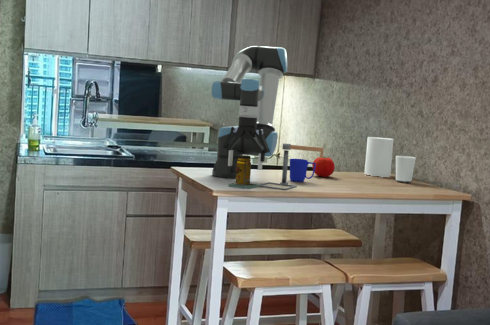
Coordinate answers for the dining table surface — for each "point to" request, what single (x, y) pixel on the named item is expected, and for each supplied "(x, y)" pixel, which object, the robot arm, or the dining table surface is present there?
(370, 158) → the canister
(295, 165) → the mug
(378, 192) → the dining table surface
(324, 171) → the tomato
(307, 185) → the dining table surface
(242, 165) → the condiment
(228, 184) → the mat
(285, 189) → the frame
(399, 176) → the cup
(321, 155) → the tan bent bar
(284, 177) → the post
